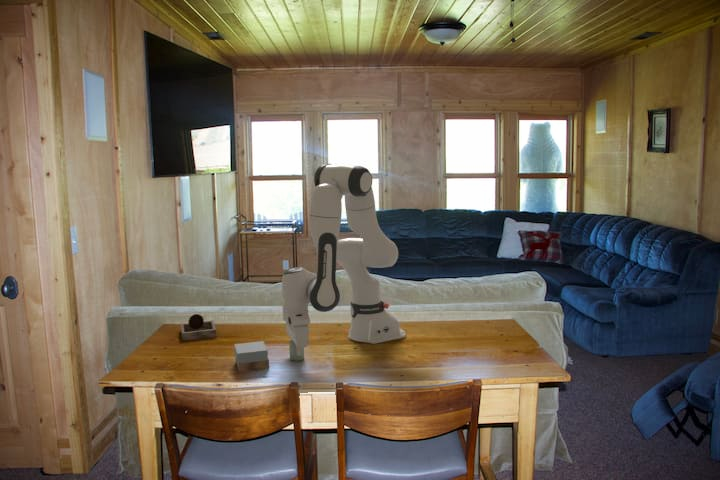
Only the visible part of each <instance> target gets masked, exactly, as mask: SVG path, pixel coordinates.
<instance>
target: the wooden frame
mask: <svg viewBox="0 0 720 480" xmlns="http://www.w3.org/2000/svg"><path fill="white" fill-rule="evenodd" d="M203 321H204V323H203V325H202V327H201V328H204V329H206V330H201V331H194V330H196V329H192V328H191V327H190V326H189V322H186V323H181V324H180V332H181V333H180V334H181V340H182V341H193V340H202V339H209V338H216V337H217V328H216V325H215V321H214V320H206V321H205V320H203ZM210 328H211V329H210ZM199 329H200V328H199ZM207 329H209V330H207Z"/></svg>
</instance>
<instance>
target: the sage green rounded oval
mask: <svg viewBox="0 0 720 480" xmlns="http://www.w3.org/2000/svg"><path fill="white" fill-rule="evenodd" d="M289 359H290V360H291V361H293V362H294V361H296V362H297V361H299V362H300V361H302V360H304V359H305V347H304V348H302V355H299V356H298V355H297V354H296V345H295V343H294V342H293V340H291V339H290V340H289Z"/></svg>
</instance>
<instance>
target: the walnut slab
mask: <svg viewBox="0 0 720 480" xmlns="http://www.w3.org/2000/svg"><path fill="white" fill-rule="evenodd" d="M234 357H235V358H236V356H235V355H234ZM235 364H236V367H237V371H238V373H246V372H254V371H262V370H269V369H270V359H269V358H268V360H265V361H257V362H248V363H240V364H238V363H237V360H236V359H235Z"/></svg>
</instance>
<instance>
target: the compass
mask: <svg viewBox="0 0 720 480" xmlns="http://www.w3.org/2000/svg"><path fill="white" fill-rule="evenodd" d="M204 321H205V320H204V317H203V316H202V315H201V314H198V313H195V314H192V315H191V316H190V317H189V319H188V323H189V326H190V327H191V328H192V329H196V330H193V331H201V330H210V329H204V328H201V327H202V325H203V323H204ZM199 328H200V329H199Z"/></svg>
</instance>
